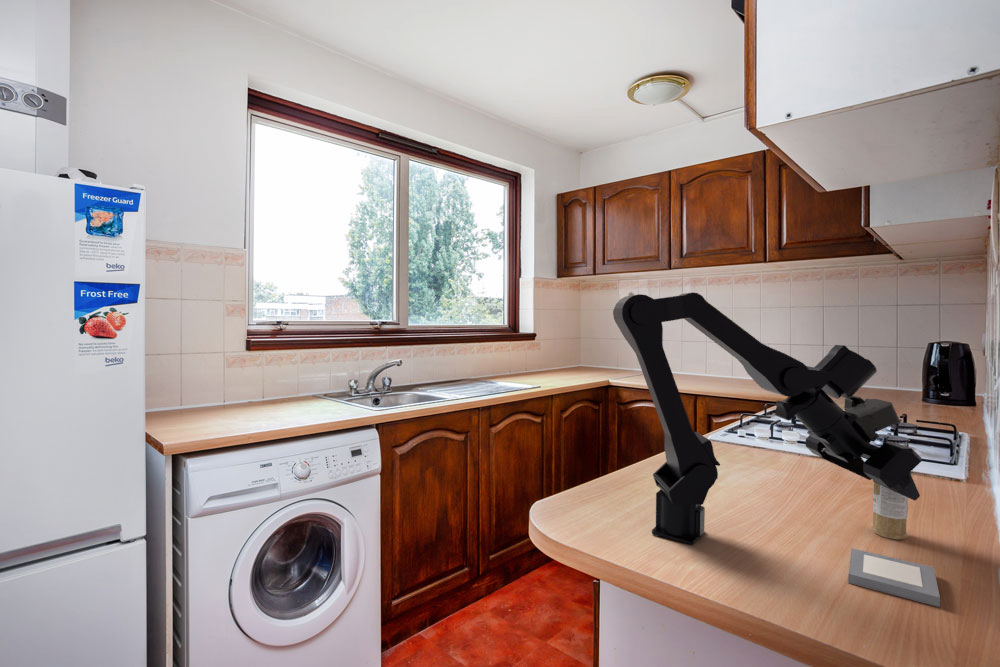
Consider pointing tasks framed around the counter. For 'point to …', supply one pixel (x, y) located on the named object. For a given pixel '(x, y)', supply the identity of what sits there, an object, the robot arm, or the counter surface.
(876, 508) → the sprinkles bottle
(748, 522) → the counter surface
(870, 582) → the tile
